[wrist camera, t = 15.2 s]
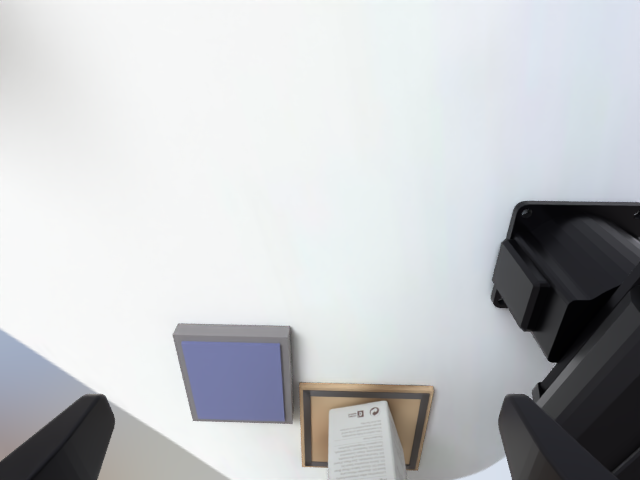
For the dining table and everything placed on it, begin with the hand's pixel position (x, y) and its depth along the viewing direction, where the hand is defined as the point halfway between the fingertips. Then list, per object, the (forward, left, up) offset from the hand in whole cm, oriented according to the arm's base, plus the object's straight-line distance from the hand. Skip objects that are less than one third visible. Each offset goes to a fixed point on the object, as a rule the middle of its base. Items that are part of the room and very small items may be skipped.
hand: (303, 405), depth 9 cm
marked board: (-3, +19, -13) cm, 23 cm away
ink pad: (+5, +13, -13) cm, 19 cm away
